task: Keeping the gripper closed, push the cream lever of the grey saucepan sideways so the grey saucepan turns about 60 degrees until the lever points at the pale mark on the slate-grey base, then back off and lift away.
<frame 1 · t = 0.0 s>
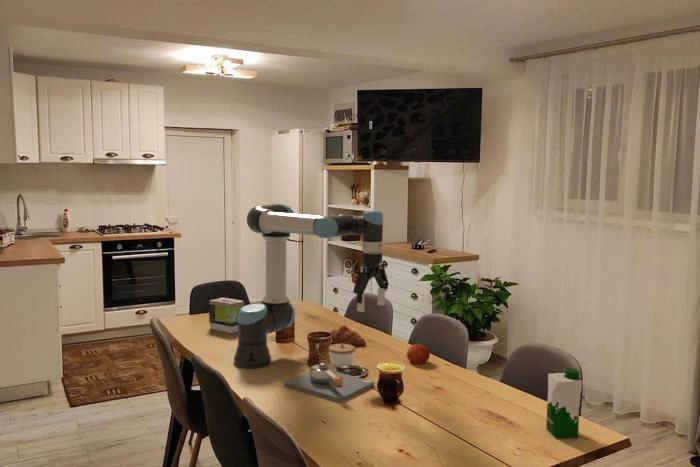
hand: (371, 308, 225), 28 cm above the table, tool pointing down, fingers open, 13 cm apart
tea box: (226, 329, 296), on the table
pastry: (343, 343, 277), on the table
milk carton: (561, 433, 185), on the table
lidded jar: (341, 366, 244), on the table
grey saucepan: (328, 376, 218), point 5 cm above the table, hinge at -30.0°
base plate: (329, 385, 221), on the table
tomato: (417, 362, 251), on the table
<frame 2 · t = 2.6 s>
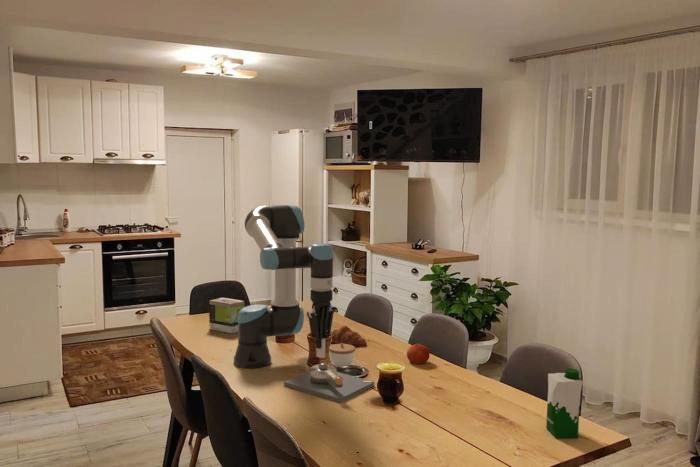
hand: (320, 356, 206), 16 cm above the table, tool pointing down, fingers closed
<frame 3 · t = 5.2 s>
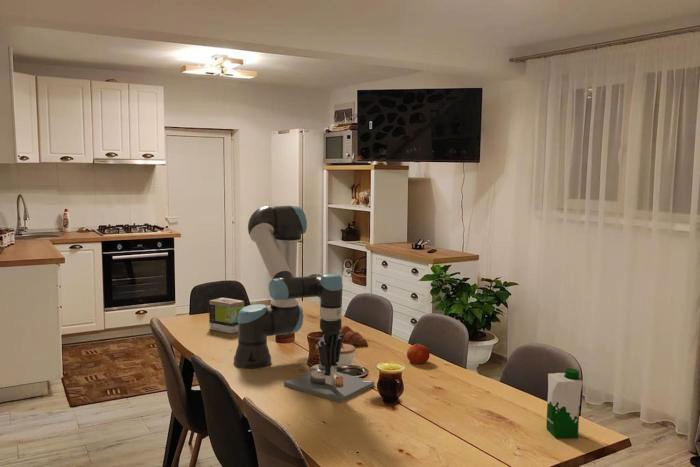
hand: (329, 383, 211), 4 cm above the table, tool pointing down, fingers closed
grey saucepan: (328, 376, 218), point 5 cm above the table, hinge at -29.1°, touching gripper
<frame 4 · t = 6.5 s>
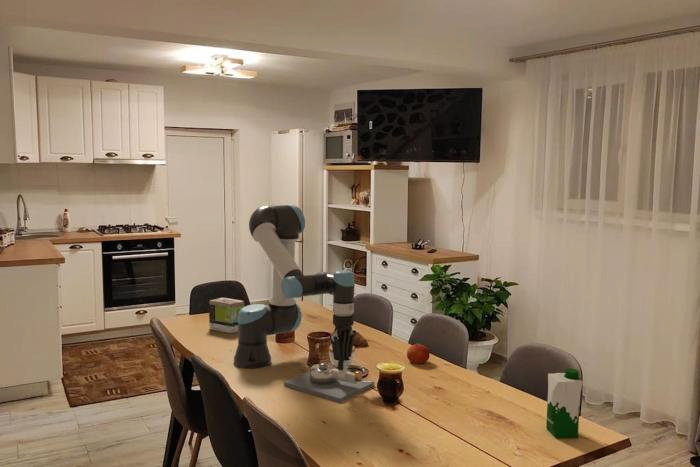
hand: (342, 377, 216), 5 cm above the table, tool pointing down, fingers closed
grey saucepan: (335, 374, 220), point 5 cm above the table, hinge at 5.6°, touching gripper
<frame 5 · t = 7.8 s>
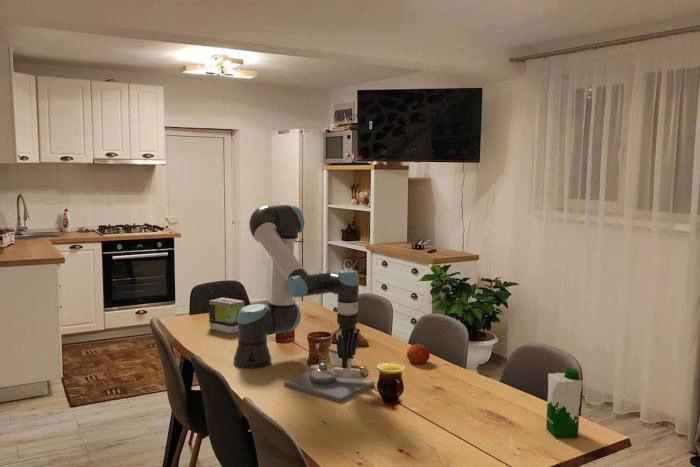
hand: (346, 375, 219), 5 cm above the table, tool pointing down, fingers closed
grey saucepan: (337, 372, 222), point 5 cm above the table, hinge at 27.6°, touching gripper
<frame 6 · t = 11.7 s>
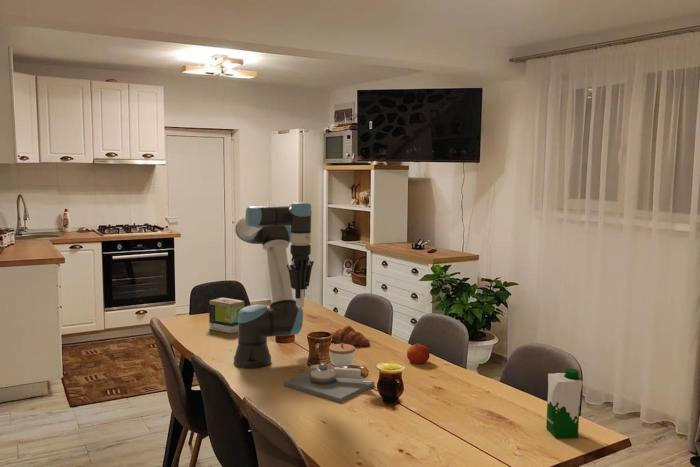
hand: (300, 306, 224), 28 cm above the table, tool pointing down, fingers closed
grey saucepan: (337, 372, 222), point 5 cm above the table, hinge at 27.7°
at the end: grey saucepan at +28° (first picture: -30°) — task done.
